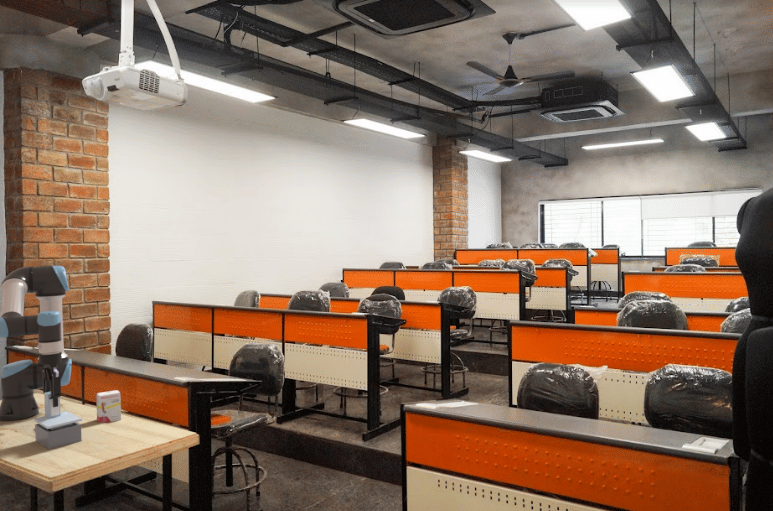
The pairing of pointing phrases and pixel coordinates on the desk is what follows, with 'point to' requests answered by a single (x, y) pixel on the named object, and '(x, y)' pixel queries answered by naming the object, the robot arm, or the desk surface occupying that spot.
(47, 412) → the lid
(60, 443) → the tub
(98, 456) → the desk surface
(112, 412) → the ink box
